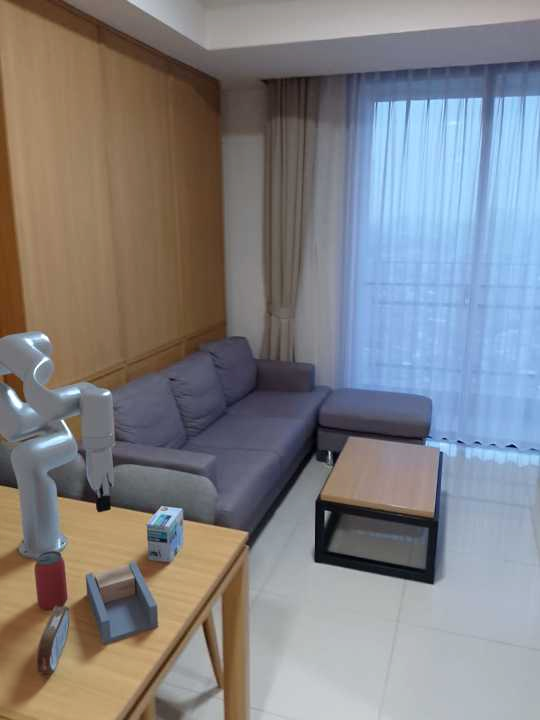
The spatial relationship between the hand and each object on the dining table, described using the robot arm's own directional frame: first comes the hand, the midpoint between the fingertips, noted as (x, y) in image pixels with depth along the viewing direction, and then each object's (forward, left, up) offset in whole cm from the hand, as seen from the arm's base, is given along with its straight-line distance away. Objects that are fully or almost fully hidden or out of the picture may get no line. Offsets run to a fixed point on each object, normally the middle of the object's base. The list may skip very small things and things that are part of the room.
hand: (103, 509), depth 138 cm
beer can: (+4, -14, -19) cm, 24 cm away
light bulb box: (-5, +17, -19) cm, 26 cm away
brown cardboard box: (+9, 0, -18) cm, 20 cm away
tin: (+22, -15, -19) cm, 33 cm away
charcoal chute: (+14, 0, -19) cm, 24 cm away
